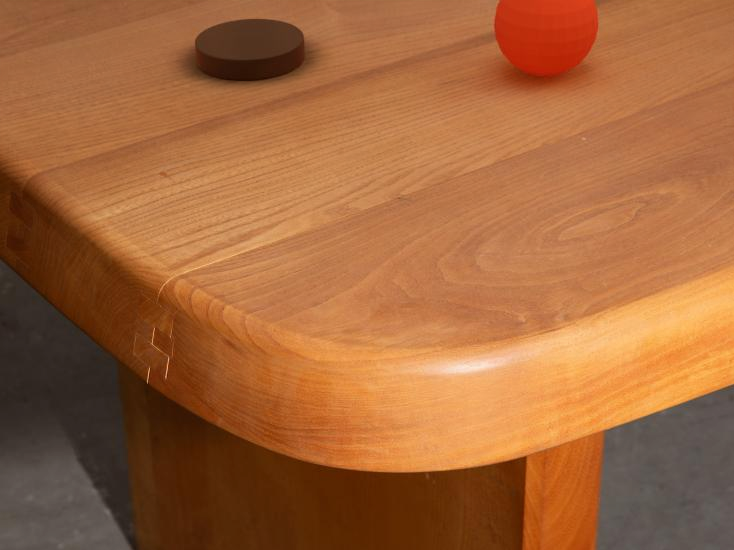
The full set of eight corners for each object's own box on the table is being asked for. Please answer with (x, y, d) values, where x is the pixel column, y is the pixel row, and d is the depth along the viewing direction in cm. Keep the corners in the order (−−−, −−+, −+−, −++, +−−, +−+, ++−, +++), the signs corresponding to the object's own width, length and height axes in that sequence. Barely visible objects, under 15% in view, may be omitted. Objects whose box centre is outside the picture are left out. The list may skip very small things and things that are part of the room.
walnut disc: (200, 85, 98) (198, 64, 97) (193, 43, 104) (191, 23, 104) (311, 75, 99) (310, 54, 98) (298, 34, 105) (297, 14, 105)
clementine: (459, 70, 99) (460, -32, 95) (523, 41, 103) (527, -59, 99) (553, 102, 94) (558, -4, 90) (616, 69, 99) (623, -33, 94)
